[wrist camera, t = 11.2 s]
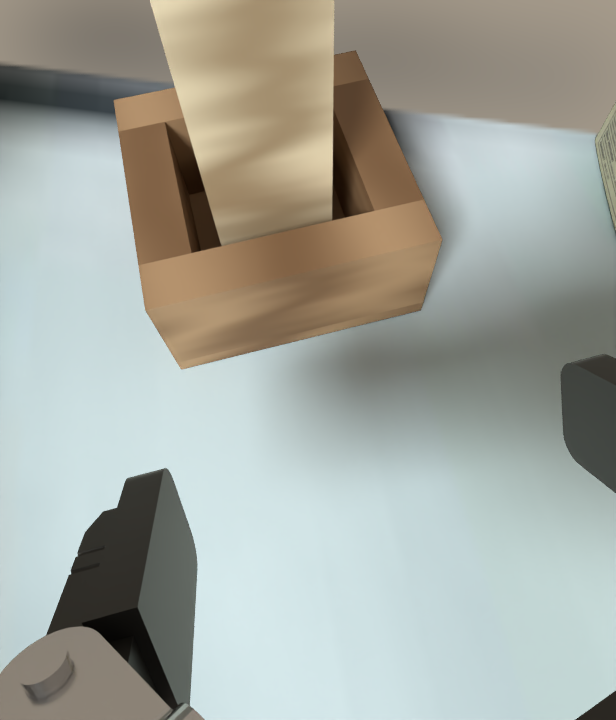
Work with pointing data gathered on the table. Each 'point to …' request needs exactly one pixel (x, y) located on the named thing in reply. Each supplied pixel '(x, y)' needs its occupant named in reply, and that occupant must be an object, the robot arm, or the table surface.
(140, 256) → the socket block
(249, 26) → the peg
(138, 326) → the table surface
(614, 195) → the skincare box
